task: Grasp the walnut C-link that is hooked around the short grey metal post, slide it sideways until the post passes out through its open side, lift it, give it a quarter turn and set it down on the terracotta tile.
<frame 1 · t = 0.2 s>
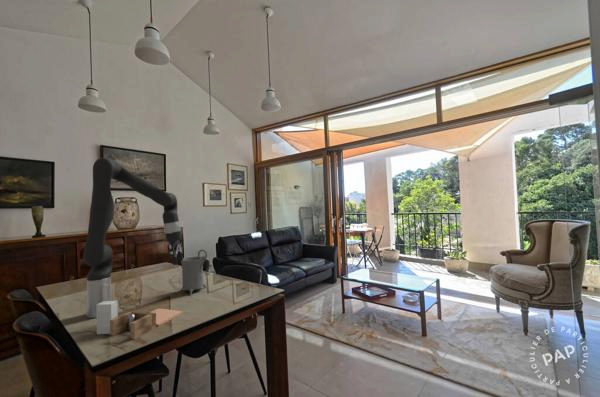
hand: (178, 262, 133), 22 cm above the table, tool pointing down, fingers open, 8 cm apart
post: (131, 329, 109), on the table
tile: (158, 317, 121), on the table
c link: (133, 331, 108), on the table
skincare box: (107, 332, 108), on the table
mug: (194, 291, 158), on the table
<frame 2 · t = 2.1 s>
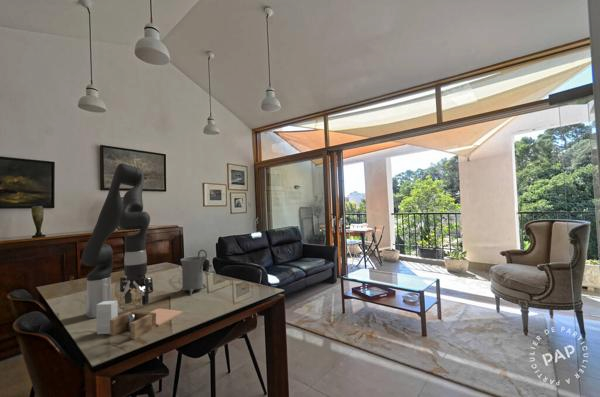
hand: (136, 303, 103), 13 cm above the table, tool pointing down, fingers open, 8 cm apart
nothing on the table moved.
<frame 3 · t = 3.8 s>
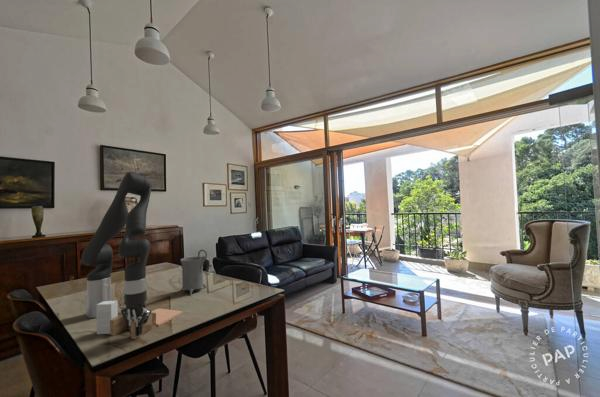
hand: (136, 334, 103), 1 cm above the table, tool pointing down, fingers closed on c link
c link: (133, 331, 108), on the table, touching gripper
everything else where it was.
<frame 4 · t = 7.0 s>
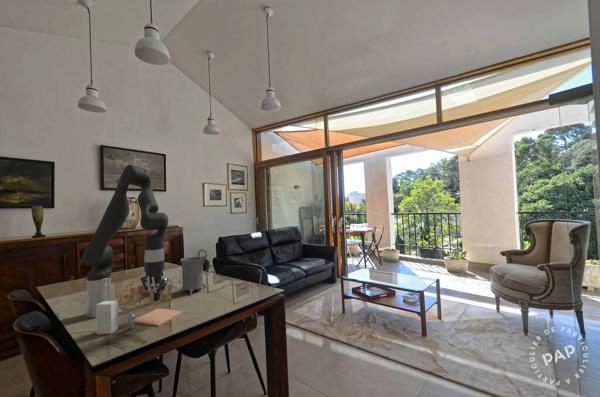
hand: (154, 300, 112), 11 cm above the table, tool pointing down, fingers closed on c link
c link: (151, 299, 116), point 10 cm above the table, touching gripper
everything else where it was.
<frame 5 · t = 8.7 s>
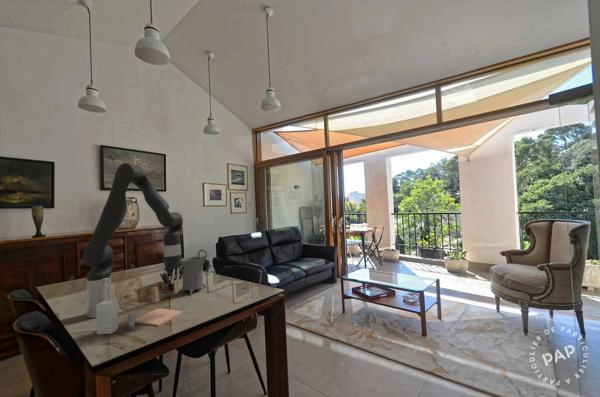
hand: (173, 290, 125), 11 cm above the table, tool pointing down, fingers closed on c link
c link: (159, 297, 121), point 9 cm above the table, tilted 6°, touching gripper
everything else where it was.
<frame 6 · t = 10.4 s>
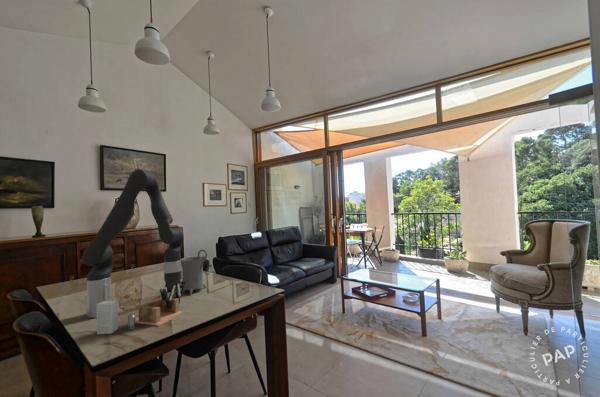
hand: (173, 306, 125), 3 cm above the table, tool pointing down, fingers open, 4 cm apart
c link: (159, 315, 121), point 1 cm above the table, touching tile
everything else where it was.
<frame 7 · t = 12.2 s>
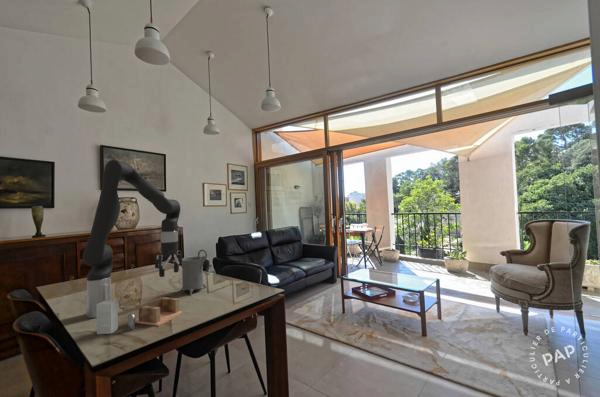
hand: (169, 274, 126), 18 cm above the table, tool pointing down, fingers open, 8 cm apart
nothing on the table moved.
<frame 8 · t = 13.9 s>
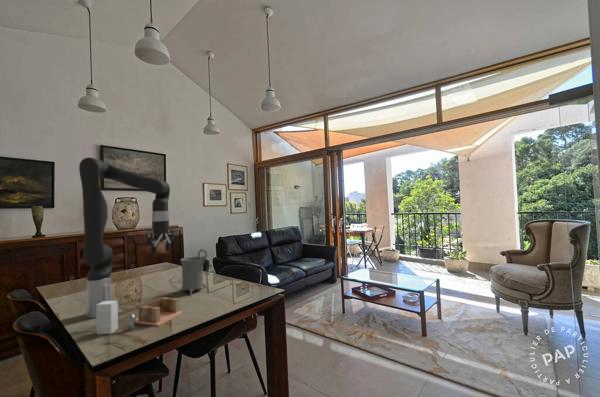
hand: (161, 252, 131), 28 cm above the table, tool pointing down, fingers open, 8 cm apart
nothing on the table moved.
at the end: c link inside the target area on the tile (0.7 cm from its centre), point 0.8 cm above the tile's base; c link touching tile; c link tilted 0° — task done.
